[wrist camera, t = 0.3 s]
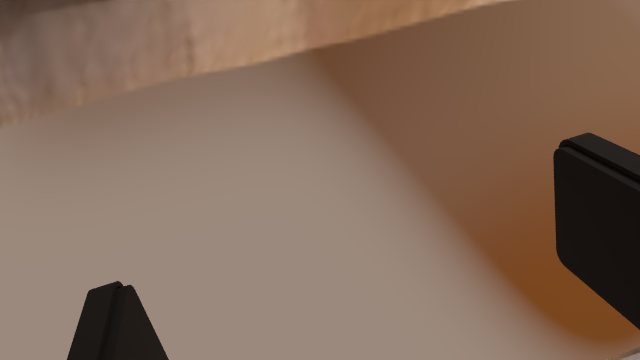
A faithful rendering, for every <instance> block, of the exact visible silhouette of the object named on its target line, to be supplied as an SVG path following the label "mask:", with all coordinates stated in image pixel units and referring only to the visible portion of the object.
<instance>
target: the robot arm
mask: <svg viewBox="0 0 640 360" xmlns="http://www.w3.org/2000/svg"><path fill="white" fill-rule="evenodd" d="M553 159H554V190H555V221H556V250H557V254H558V257H559V259H560V261H561V262H562V264H563V265H564V266H565V267H566V268H567V269H569V270H570V271H571V272H572V273H573V274H575V275H576V276H577V277H578V278H579V279H580V280H582V281H583V282H584V283H585V284H586V285H588V286H589V287H590V288H591V289H592V290H593V291H595V292H596V293H597V294H598V295H599V296H600V297H602V298H603V299H604V300H605V301H606V302H608V303H609V304H610V305H611V306H612V307H613V308H615V309H616V310H617V311H618V312H619V313H621V314H622V315H623V316H624V317H625V318H626V319H628V320H629V321H630V322H631V323H632V324H633V325H635V326H636V327H637V328H638V329H639V330H640V155H638V154H636V153H634V152H631V151H629V150H627V149H625V148H622V147H620V146H618V145H616V144H614V143H612V142H610V141H607V140H605V139H603V138H601V137H599V136H596V135H594V134H592V133H585V134H582V135H579V136H575V137H572V138H569V139H566V140H563V141H562V142H561V143H560V145H559V149H556V151H555V152H554V158H553ZM67 360H169V359H168V357H167V355H166V353H165V351H164V349H163V347H162V345H161V343H160V341H159V339H158V336H157V334H156V332H155V330H154V328H153V326H152V324H151V322H150V320H149V318H148V316H147V314H146V312H145V310H144V307H143V306H142V303H141V301H140V299H139V297H138V295H137V293H136V291H135V289H134V288H133V287H132V285H127V286H123V285H122V283H121V282H119V281H116V282H113V283H110V284H107V285H104V286H101V287H98V288H94V289H91V290H89V292H88V294H87V297H86V300H85V303H84V307H83V310H82V313H81V316H80V319H79V322H78V326H77V329H76V332H75V335H74V339H73V342H72V345H71V348H70V351H69V354H68V358H67ZM605 360H640V347H639V348H636V349H633V350H631V351H628V352H625V353H622V354H619V355H617V356H614V357H611V358H608V359H605Z"/></svg>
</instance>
